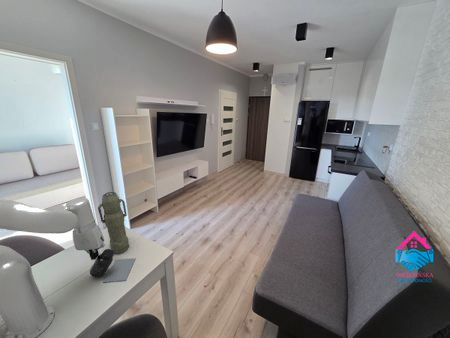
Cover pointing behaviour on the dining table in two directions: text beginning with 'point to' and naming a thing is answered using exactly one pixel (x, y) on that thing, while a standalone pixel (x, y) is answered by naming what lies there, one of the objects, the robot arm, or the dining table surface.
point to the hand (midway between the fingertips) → (95, 257)
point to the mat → (119, 270)
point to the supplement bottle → (102, 263)
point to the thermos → (114, 222)
